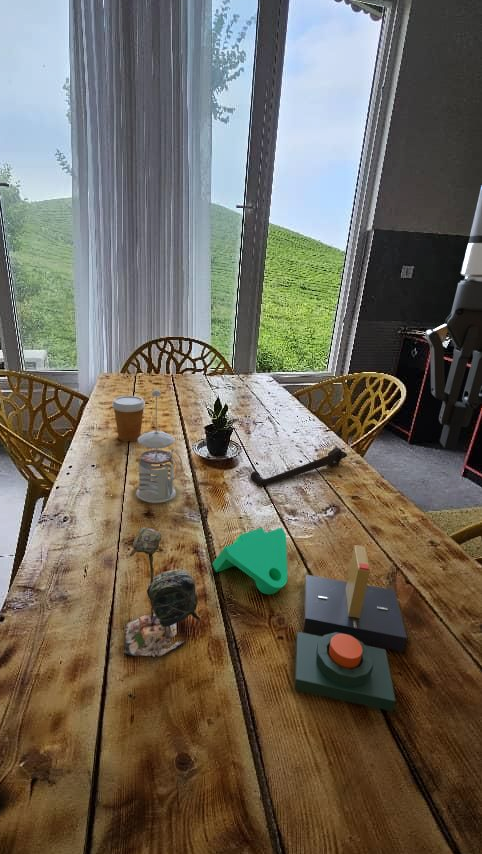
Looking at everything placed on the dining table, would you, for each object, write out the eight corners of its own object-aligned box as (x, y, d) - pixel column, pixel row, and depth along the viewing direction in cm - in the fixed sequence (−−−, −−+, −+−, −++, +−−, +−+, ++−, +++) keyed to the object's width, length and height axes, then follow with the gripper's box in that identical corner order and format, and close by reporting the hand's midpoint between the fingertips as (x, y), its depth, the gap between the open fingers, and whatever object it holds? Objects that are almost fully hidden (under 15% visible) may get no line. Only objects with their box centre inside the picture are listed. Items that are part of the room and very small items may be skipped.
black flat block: (391, 604, 72) (395, 588, 71) (402, 654, 63) (407, 637, 62) (303, 588, 75) (306, 573, 74) (302, 634, 66) (305, 617, 65)
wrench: (248, 484, 112) (334, 455, 126) (260, 494, 108) (347, 463, 122) (249, 466, 110) (336, 439, 124) (261, 476, 106) (350, 446, 120)
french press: (154, 480, 109) (154, 381, 100) (192, 495, 103) (196, 391, 93) (125, 495, 101) (122, 390, 92) (164, 512, 95) (166, 401, 86)
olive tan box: (345, 589, 71) (354, 543, 67) (355, 591, 70) (365, 545, 67) (348, 616, 65) (358, 568, 62) (359, 618, 65) (370, 570, 62)
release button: (358, 646, 59) (361, 636, 59) (361, 671, 56) (364, 661, 55) (328, 640, 60) (330, 630, 60) (329, 664, 57) (331, 654, 56)
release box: (382, 660, 62) (388, 639, 60) (392, 713, 55) (399, 690, 53) (295, 643, 64) (298, 621, 63) (293, 691, 57) (297, 668, 55)
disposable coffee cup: (136, 446, 127) (136, 407, 123) (107, 441, 130) (105, 402, 126) (150, 435, 136) (150, 397, 131) (122, 430, 139) (121, 393, 134)
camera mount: (207, 560, 79) (234, 616, 74) (222, 540, 73) (251, 599, 68) (261, 541, 84) (289, 592, 79) (278, 522, 79) (309, 575, 74)
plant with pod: (200, 662, 60) (207, 539, 53) (117, 659, 60) (112, 535, 53) (201, 617, 68) (207, 504, 61) (127, 614, 68) (124, 500, 60)
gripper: (446, 278, 56) (406, 449, 65) (562, 284, 54) (504, 460, 62) (431, 276, 63) (397, 431, 72) (534, 281, 60) (485, 441, 69)
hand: (447, 445), depth 67 cm, fingers closed
